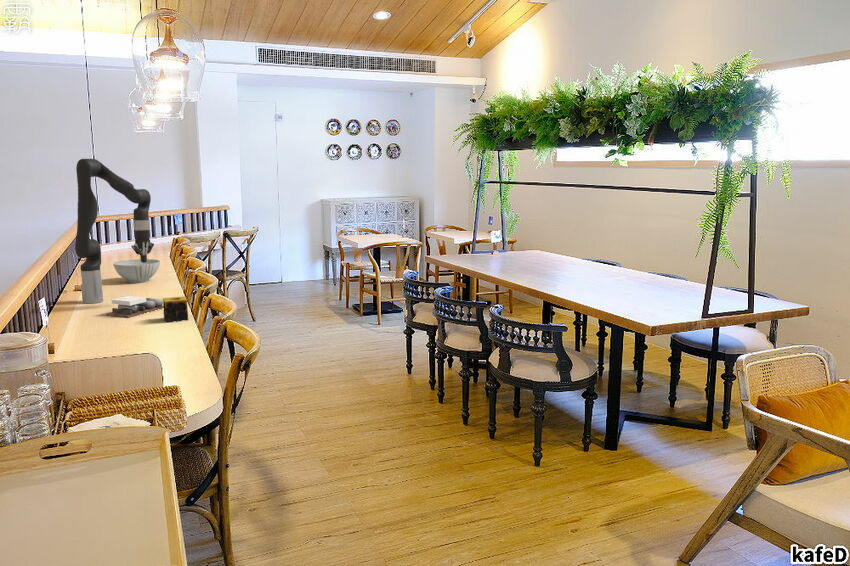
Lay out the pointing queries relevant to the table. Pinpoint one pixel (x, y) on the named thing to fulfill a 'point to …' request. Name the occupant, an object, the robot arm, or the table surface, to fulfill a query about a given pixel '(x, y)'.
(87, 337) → the table surface
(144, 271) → the decorative bowl
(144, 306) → the roller bed
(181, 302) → the black and yellow cube
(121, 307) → the roller
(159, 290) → the table surface
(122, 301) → the slab
